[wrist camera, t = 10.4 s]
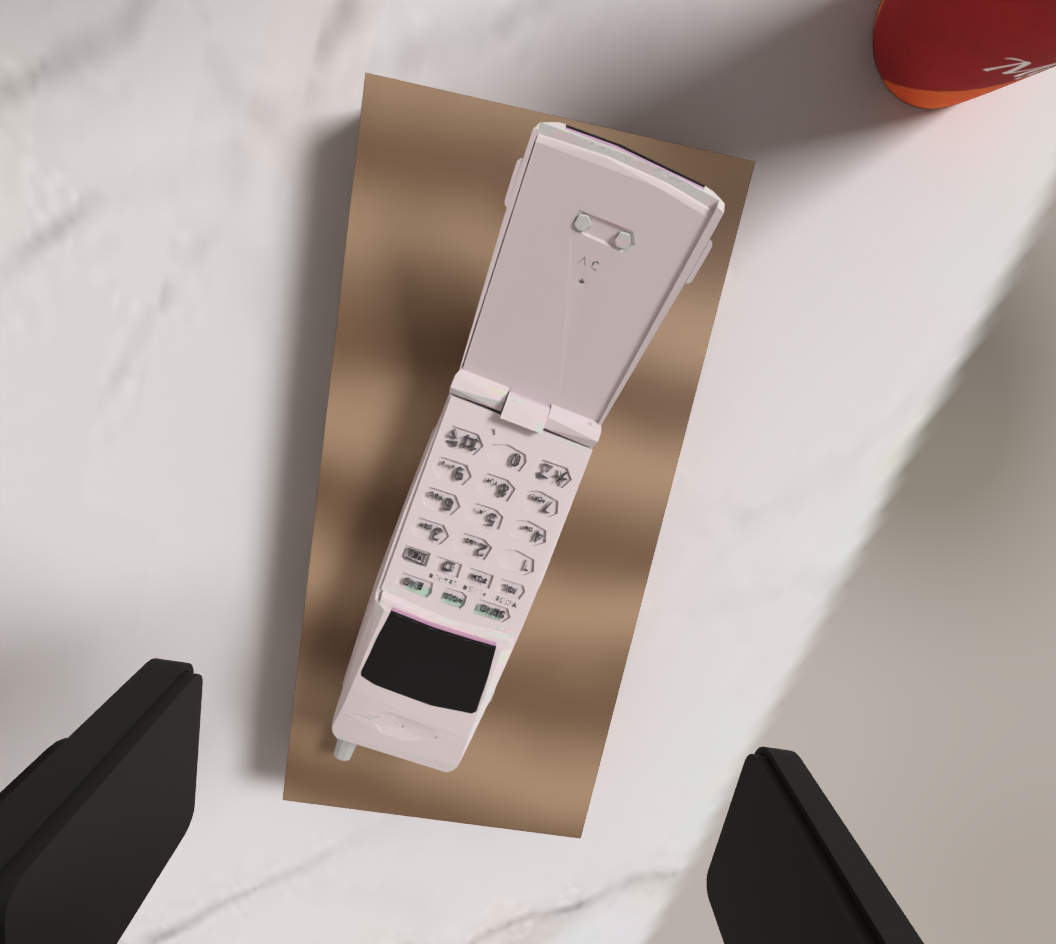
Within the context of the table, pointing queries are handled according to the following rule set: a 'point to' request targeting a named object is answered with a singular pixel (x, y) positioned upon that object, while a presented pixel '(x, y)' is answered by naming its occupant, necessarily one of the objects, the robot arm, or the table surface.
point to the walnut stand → (405, 428)
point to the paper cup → (961, 47)
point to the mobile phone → (518, 433)
